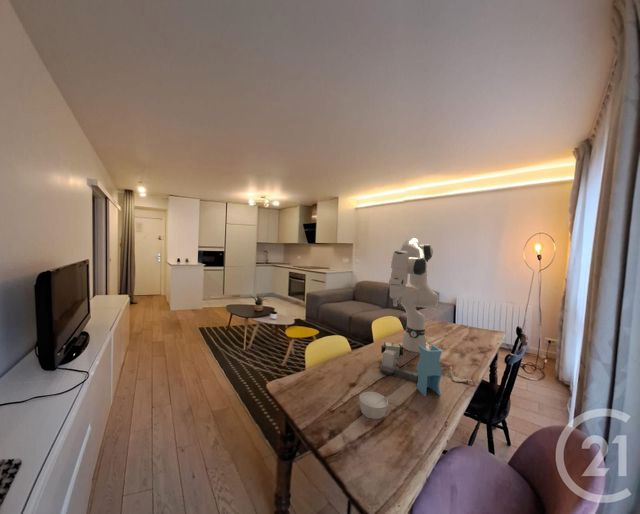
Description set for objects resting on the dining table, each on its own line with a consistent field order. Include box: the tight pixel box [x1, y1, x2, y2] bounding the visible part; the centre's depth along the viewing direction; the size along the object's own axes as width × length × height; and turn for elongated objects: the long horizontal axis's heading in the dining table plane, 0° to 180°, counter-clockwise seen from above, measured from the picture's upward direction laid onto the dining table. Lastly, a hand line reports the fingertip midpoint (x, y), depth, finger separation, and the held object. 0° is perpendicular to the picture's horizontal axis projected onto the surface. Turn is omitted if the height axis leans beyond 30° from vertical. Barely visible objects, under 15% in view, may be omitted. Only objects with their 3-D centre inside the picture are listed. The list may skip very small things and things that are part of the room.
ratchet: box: [380, 362, 418, 383], centre depth 136 cm, size 8×24×8 cm, turn 59°
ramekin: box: [358, 391, 389, 420], centre depth 105 cm, size 11×11×5 cm
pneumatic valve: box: [380, 342, 404, 359], centre depth 151 cm, size 6×12×12 cm, turn 78°
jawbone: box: [447, 365, 475, 385], centre depth 141 cm, size 9×20×2 cm, turn 5°
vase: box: [416, 344, 443, 397], centre depth 123 cm, size 8×8×20 cm
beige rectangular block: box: [381, 349, 397, 369], centre depth 140 cm, size 5×5×7 cm
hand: (397, 304), depth 148 cm, fingers open, 8 cm apart
